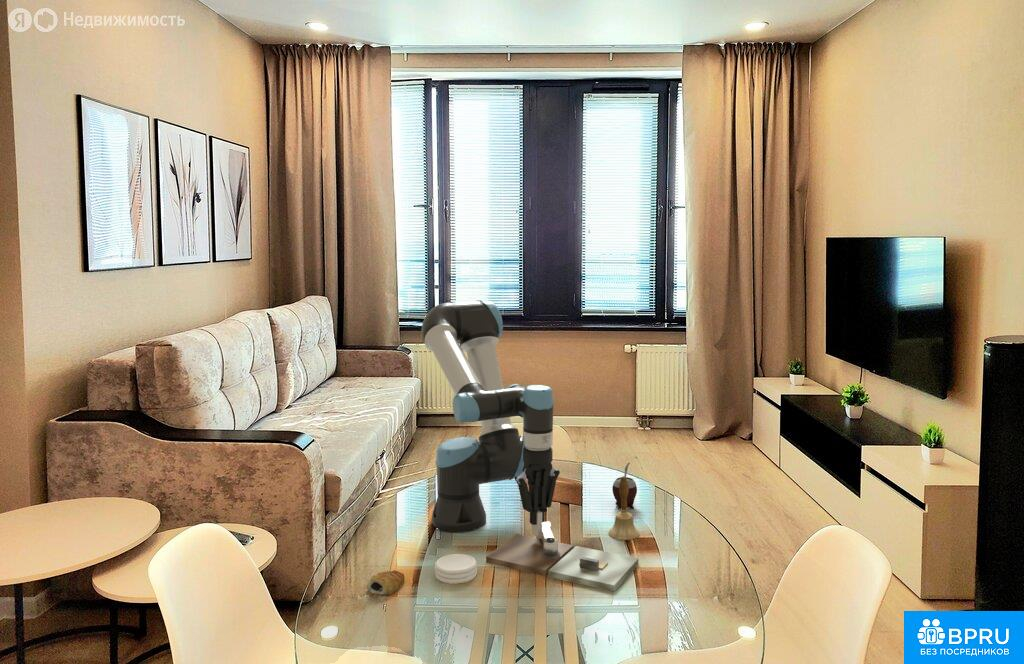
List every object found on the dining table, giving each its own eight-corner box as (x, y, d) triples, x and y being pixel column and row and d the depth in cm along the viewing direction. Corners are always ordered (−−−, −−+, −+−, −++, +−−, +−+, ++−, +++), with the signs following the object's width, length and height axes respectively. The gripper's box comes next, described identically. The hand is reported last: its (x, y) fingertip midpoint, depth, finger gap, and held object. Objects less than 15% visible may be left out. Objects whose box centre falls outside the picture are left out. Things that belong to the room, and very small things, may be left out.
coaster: (439, 587, 190) (439, 573, 189) (431, 569, 199) (431, 556, 199) (481, 581, 193) (481, 567, 192) (471, 564, 202) (471, 550, 202)
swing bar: (559, 555, 201) (558, 541, 200) (544, 556, 200) (544, 542, 200) (550, 531, 215) (550, 518, 215) (536, 532, 215) (536, 519, 214)
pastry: (389, 576, 196) (389, 561, 196) (412, 582, 193) (411, 567, 192) (364, 592, 188) (363, 576, 188) (387, 599, 185) (387, 583, 184)
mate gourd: (622, 500, 243) (622, 451, 241) (644, 506, 238) (644, 456, 236) (606, 506, 238) (606, 457, 236) (628, 513, 233) (629, 462, 230)
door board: (485, 562, 202) (485, 548, 202) (516, 539, 216) (516, 525, 216) (613, 591, 186) (613, 575, 185) (638, 564, 200) (638, 549, 199)
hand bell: (638, 541, 214) (639, 482, 211) (607, 539, 215) (607, 481, 213) (640, 528, 222) (640, 472, 219) (609, 527, 223) (609, 471, 221)
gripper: (525, 454, 200) (525, 545, 203) (566, 446, 207) (565, 534, 211) (508, 447, 206) (508, 536, 210) (548, 439, 213) (547, 525, 217)
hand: (536, 535), depth 210 cm, fingers closed
